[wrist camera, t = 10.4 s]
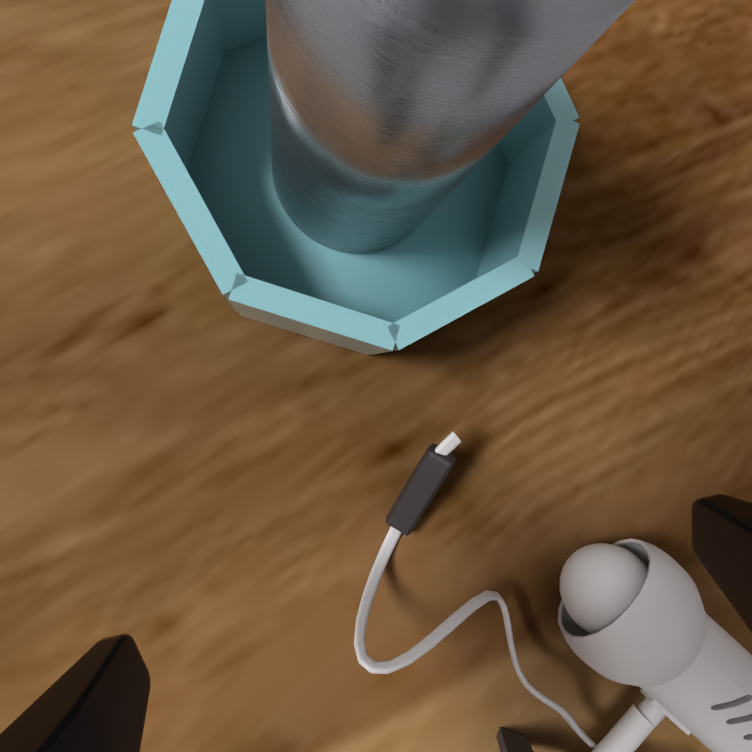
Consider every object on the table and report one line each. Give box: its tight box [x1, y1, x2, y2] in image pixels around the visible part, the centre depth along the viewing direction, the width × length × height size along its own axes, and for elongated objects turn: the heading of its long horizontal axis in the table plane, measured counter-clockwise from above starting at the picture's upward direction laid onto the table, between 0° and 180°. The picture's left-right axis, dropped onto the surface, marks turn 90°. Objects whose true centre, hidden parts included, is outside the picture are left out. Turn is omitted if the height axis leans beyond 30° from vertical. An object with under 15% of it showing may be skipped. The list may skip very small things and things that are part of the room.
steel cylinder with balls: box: [266, 0, 635, 254], centre depth 12 cm, size 6×6×13 cm
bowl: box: [132, 0, 580, 355], centre depth 18 cm, size 13×13×4 cm
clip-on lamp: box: [354, 432, 752, 752], centre depth 19 cm, size 12×6×18 cm
